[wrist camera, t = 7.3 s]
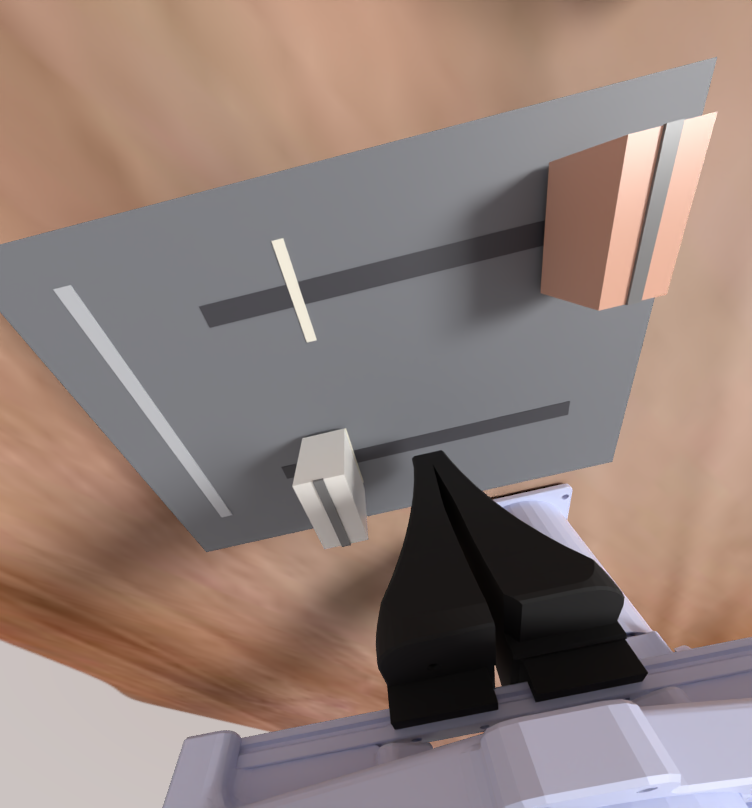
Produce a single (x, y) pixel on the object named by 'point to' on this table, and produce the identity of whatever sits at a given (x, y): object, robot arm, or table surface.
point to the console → (346, 317)
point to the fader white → (331, 489)
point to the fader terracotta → (621, 214)
